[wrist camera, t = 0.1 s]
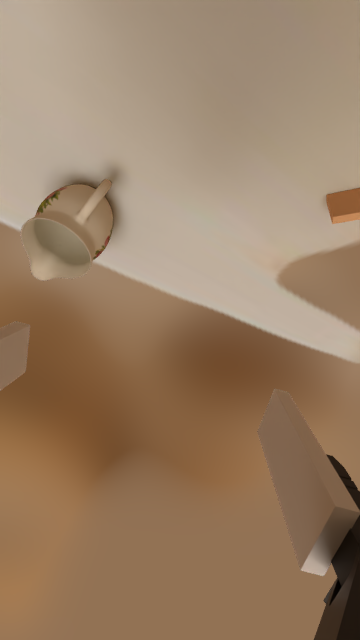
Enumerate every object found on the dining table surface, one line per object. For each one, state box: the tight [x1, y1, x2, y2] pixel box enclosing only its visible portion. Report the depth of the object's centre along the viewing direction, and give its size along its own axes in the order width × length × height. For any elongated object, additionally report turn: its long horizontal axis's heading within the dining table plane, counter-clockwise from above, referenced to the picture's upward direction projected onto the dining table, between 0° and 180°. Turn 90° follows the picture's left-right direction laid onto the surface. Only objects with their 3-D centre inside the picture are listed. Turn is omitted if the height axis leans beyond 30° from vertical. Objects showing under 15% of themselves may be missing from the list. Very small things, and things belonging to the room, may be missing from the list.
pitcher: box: [21, 179, 113, 281], centre depth 43 cm, size 11×18×14 cm, turn 137°
